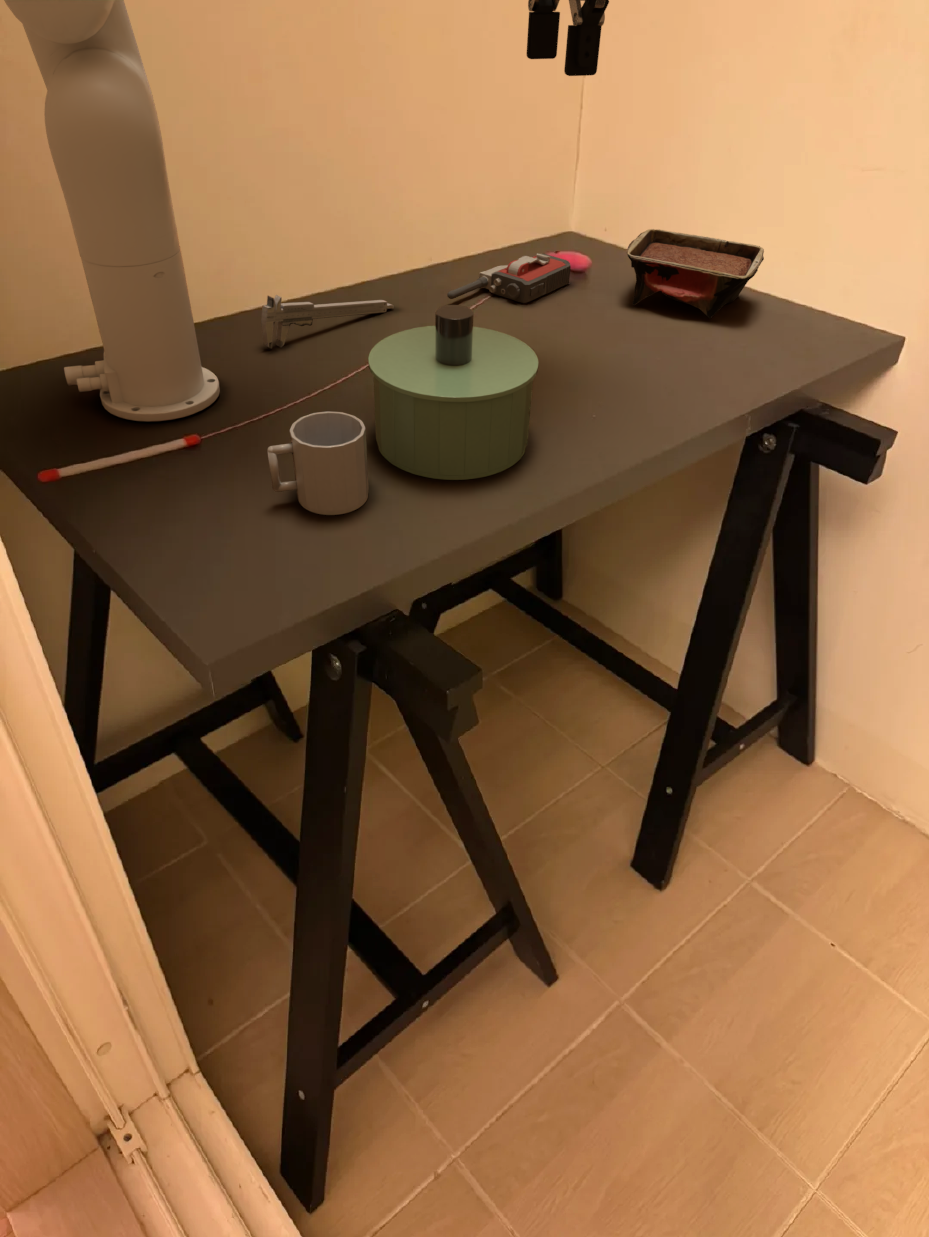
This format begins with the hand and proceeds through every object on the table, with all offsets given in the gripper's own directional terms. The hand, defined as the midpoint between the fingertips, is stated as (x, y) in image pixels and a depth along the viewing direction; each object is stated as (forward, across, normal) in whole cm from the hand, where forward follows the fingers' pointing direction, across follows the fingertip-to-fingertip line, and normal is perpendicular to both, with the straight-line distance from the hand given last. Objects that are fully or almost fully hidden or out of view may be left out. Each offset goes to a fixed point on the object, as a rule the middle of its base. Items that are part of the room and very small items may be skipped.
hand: (560, 66), depth 87 cm
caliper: (+31, -15, -22) cm, 41 cm away
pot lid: (+22, +17, -16) cm, 32 cm away
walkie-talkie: (+31, -21, +5) cm, 37 cm away
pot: (+31, +17, -16) cm, 39 cm away
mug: (+30, +24, -32) cm, 50 cm away
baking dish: (+31, -12, +28) cm, 43 cm away
